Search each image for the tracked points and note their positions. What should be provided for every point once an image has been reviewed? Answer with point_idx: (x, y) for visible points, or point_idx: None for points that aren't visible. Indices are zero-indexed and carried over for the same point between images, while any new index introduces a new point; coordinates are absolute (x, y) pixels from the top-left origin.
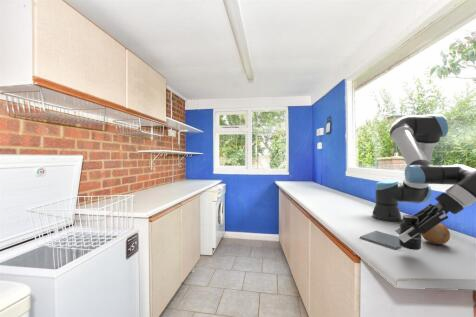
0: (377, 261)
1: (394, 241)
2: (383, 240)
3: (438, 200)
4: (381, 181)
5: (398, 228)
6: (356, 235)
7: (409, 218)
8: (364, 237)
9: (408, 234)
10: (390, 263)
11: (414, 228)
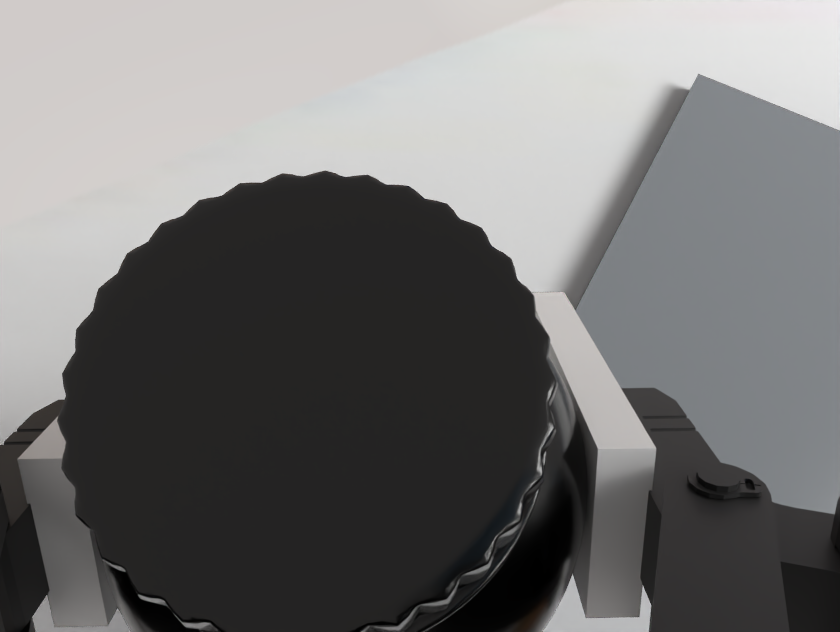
0: (48, 214)
1: (783, 433)
2: (726, 303)
3: None
4: None
5: (541, 322)
6: (769, 61)
7: (98, 316)
8: (692, 114)
9: (52, 410)
10: (36, 321)
11: (24, 498)
